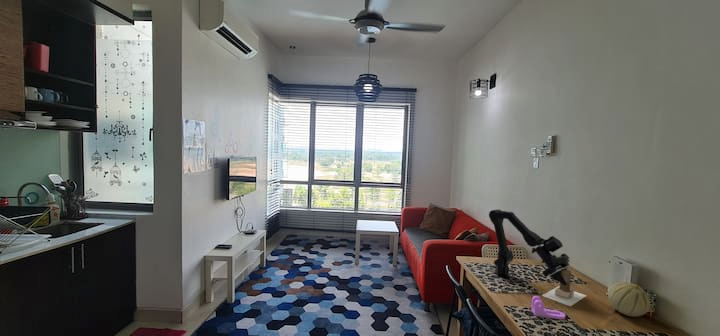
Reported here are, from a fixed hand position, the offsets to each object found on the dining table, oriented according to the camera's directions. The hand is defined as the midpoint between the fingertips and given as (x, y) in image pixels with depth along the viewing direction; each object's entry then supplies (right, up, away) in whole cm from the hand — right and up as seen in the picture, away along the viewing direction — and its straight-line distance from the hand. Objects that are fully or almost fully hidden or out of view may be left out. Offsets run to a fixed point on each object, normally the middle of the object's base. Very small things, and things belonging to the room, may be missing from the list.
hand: (568, 284), depth 158 cm
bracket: (-20, -8, -16) cm, 27 cm away
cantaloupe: (+18, -9, -14) cm, 25 cm away
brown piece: (-1, -6, +2) cm, 7 cm away
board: (-1, -7, +2) cm, 8 cm away
